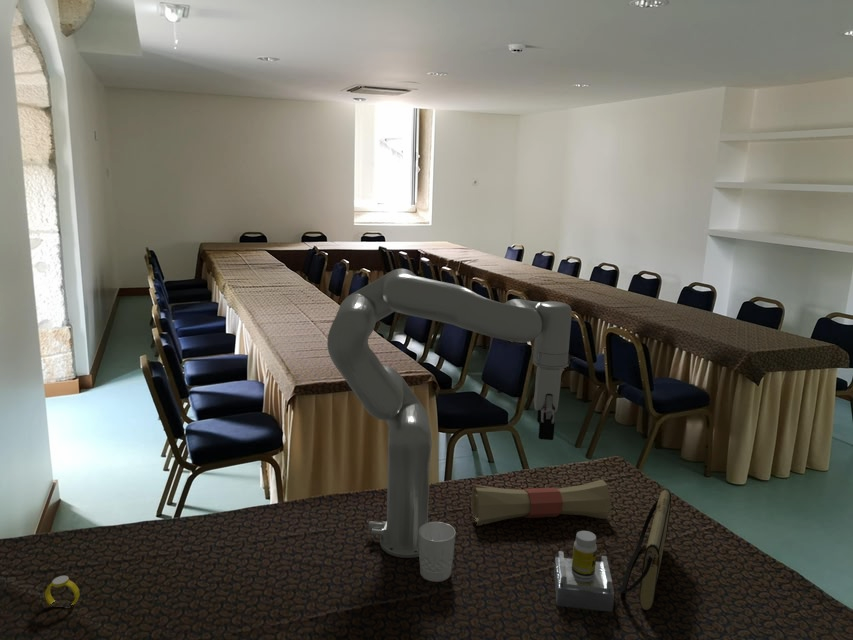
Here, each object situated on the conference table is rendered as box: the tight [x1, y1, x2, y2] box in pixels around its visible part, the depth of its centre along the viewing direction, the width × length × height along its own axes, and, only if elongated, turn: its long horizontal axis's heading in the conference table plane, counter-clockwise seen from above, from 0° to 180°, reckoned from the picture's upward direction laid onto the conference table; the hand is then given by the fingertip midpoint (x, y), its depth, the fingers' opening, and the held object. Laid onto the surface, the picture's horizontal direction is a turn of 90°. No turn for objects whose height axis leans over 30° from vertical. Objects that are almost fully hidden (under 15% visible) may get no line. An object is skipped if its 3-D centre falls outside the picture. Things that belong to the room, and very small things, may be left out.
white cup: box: [418, 521, 457, 583], centre depth 140 cm, size 8×8×10 cm
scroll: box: [470, 479, 611, 526], centre depth 164 cm, size 11×34×10 cm, turn 99°
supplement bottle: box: [571, 530, 598, 578], centre depth 134 cm, size 5×5×8 cm
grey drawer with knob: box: [553, 550, 615, 613], centre depth 137 cm, size 11×14×6 cm
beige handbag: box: [619, 488, 672, 611], centre depth 141 cm, size 30×7×15 cm, turn 155°
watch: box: [44, 575, 81, 606], centre depth 126 cm, size 6×3×6 cm, turn 91°
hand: (544, 430), depth 147 cm, fingers open, 9 cm apart
